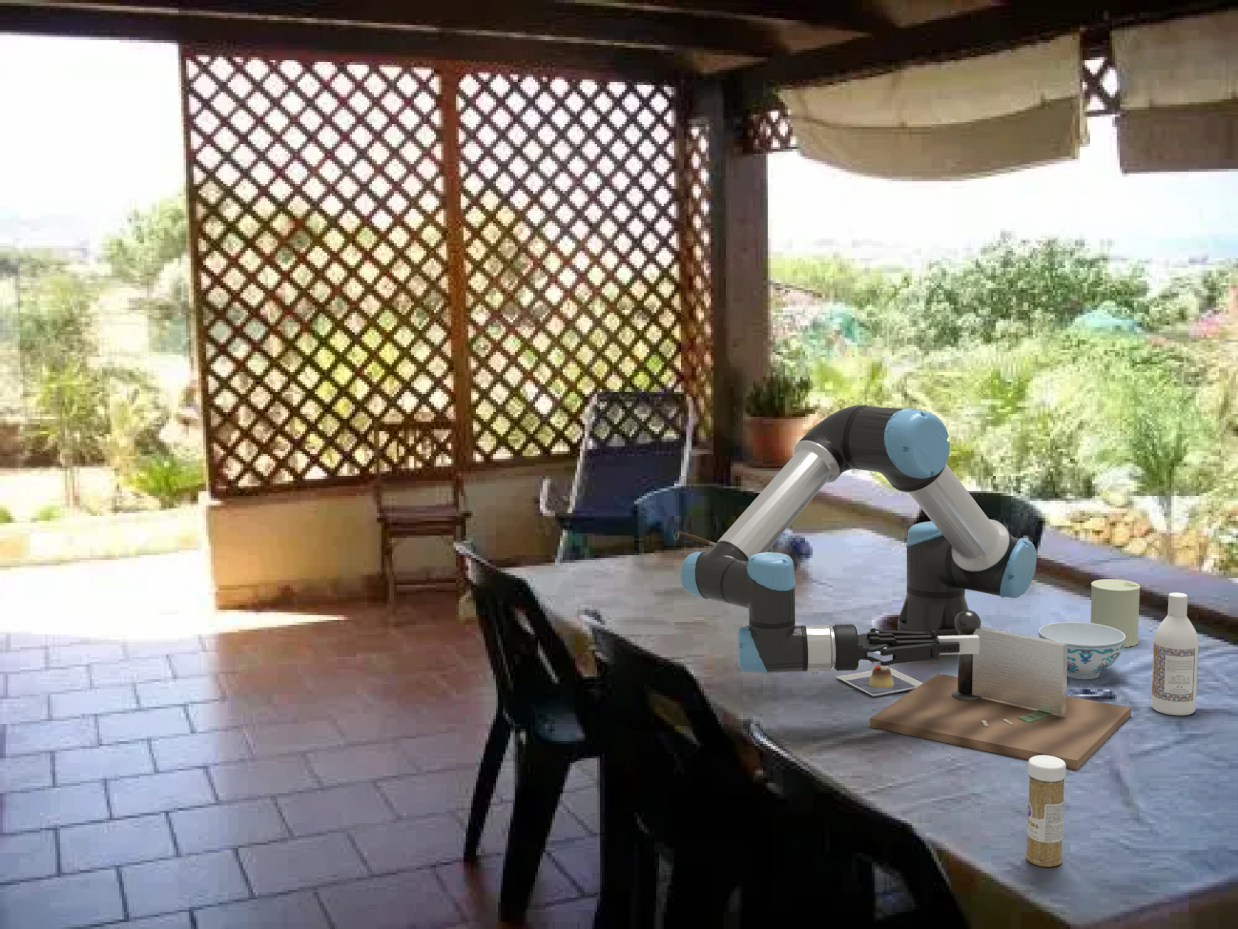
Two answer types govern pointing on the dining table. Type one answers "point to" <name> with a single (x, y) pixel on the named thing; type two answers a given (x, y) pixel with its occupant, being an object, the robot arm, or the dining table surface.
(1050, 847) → the sprinkles bottle
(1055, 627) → the chinaware
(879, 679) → the dessert
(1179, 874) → the dining table surface
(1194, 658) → the bath foam
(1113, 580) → the can
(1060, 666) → the panel with knobbed post
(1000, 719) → the brown wooden cutting board
